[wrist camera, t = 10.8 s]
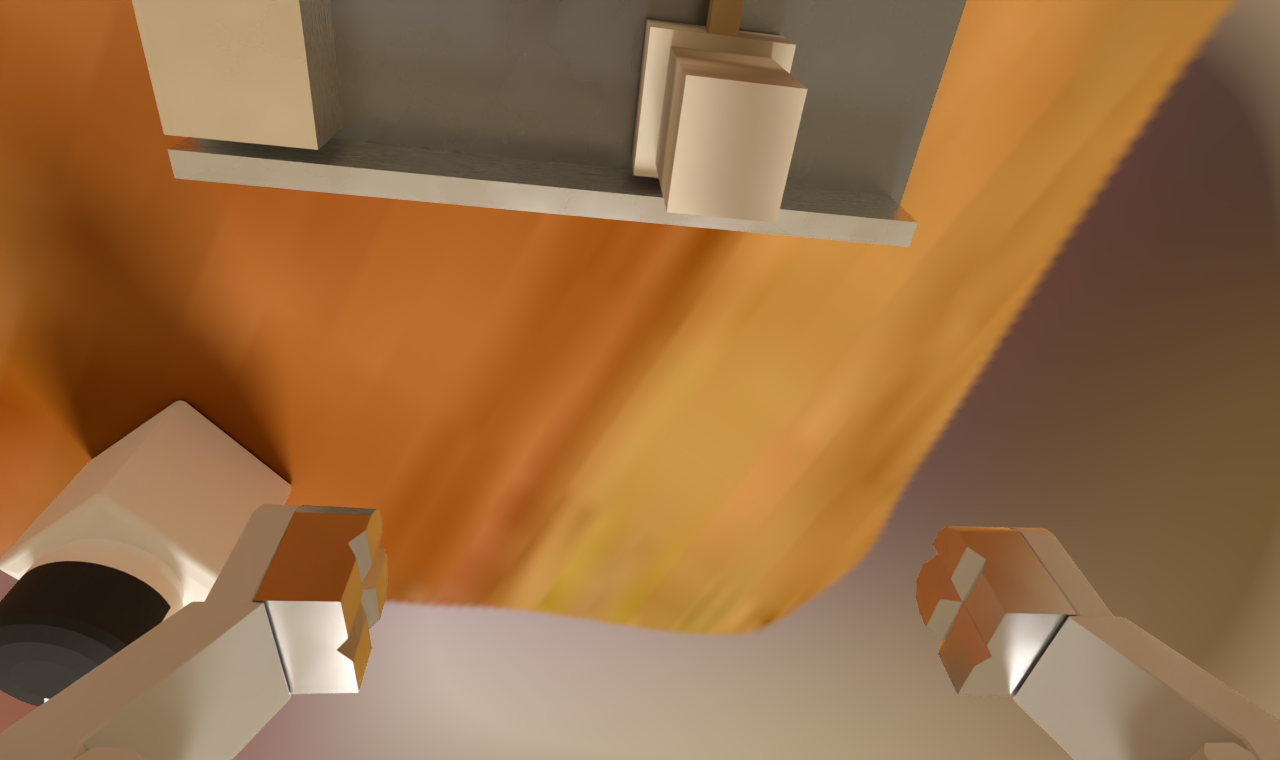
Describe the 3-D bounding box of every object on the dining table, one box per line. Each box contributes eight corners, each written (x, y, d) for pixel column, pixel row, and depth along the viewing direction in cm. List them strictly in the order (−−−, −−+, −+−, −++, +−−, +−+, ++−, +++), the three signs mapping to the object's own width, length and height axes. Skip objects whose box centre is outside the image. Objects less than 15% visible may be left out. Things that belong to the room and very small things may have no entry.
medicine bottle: (88, 460, 36) (-104, 669, 26) (182, 394, 35) (15, 592, 25) (205, 541, 40) (75, 752, 30) (296, 485, 38) (190, 691, 28)
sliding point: (631, 159, 28) (640, 225, 22) (664, -140, 23) (688, -156, 17) (755, 172, 29) (795, 239, 23) (814, -118, 23) (887, -125, 18)
